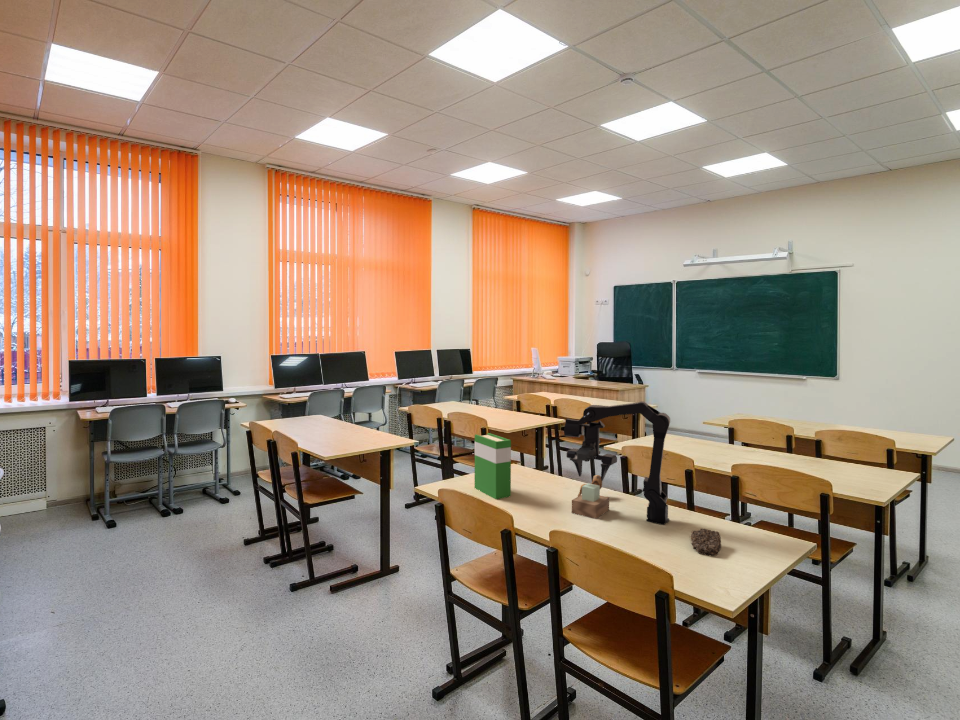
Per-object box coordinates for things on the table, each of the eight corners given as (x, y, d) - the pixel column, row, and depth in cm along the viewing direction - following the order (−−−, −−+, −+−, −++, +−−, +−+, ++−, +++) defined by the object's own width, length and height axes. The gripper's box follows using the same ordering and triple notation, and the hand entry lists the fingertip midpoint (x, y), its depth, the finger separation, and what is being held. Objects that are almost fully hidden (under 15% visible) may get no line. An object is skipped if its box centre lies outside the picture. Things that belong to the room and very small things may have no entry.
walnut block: (609, 509, 203) (609, 497, 203) (595, 518, 193) (596, 505, 193) (585, 504, 209) (585, 492, 209) (571, 512, 200) (571, 500, 199)
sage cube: (599, 498, 201) (599, 485, 201) (593, 501, 197) (594, 488, 197) (587, 495, 204) (587, 483, 204) (581, 499, 200) (582, 486, 200)
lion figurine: (594, 493, 224) (594, 472, 223) (605, 496, 220) (605, 475, 219) (573, 501, 214) (574, 479, 213) (584, 504, 210) (584, 482, 209)
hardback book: (474, 488, 231) (474, 434, 229) (488, 485, 235) (488, 433, 233) (495, 499, 216) (496, 442, 214) (510, 496, 219) (510, 440, 218)
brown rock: (694, 539, 175) (695, 524, 175) (726, 547, 168) (727, 532, 168) (682, 550, 166) (683, 534, 166) (716, 559, 160) (716, 543, 159)
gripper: (559, 438, 199) (559, 478, 200) (605, 445, 188) (604, 487, 189) (573, 434, 208) (572, 472, 209) (618, 440, 196) (617, 480, 197)
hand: (590, 478), depth 201 cm, fingers open, 9 cm apart
